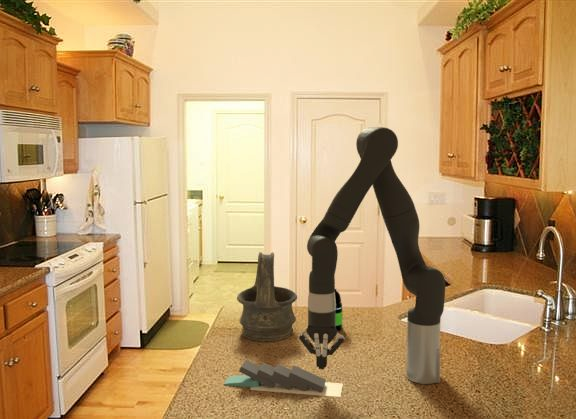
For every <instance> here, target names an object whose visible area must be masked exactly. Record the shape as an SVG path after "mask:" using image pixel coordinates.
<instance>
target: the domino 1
mask: <svg viewBox="0 0 576 419" xmlns="http://www.w3.org/2000/svg"><path fill="white" fill-rule="evenodd" d="M260 383H261V382H259V381H257V380H255V379H253V378H251V377H249V376H247V375H245V374H240V375H229V376H228V377H227V378H226V380H225V382H223V386H233V387H243V388H251V387H258V386H259V385H260Z"/></svg>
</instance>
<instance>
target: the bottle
mask: <svg viewBox="0 0 576 419" xmlns="http://www.w3.org/2000/svg"><path fill="white" fill-rule="evenodd" d="M335 298H336V328H337V332H340V331H342V330H343V329H344V328H343V302H342V297H341V293H340V292H339V291H337V288H335Z"/></svg>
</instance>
